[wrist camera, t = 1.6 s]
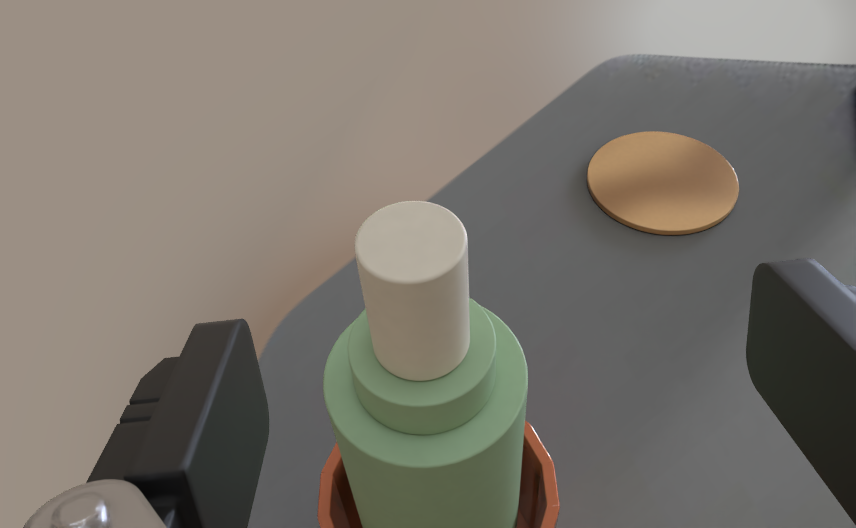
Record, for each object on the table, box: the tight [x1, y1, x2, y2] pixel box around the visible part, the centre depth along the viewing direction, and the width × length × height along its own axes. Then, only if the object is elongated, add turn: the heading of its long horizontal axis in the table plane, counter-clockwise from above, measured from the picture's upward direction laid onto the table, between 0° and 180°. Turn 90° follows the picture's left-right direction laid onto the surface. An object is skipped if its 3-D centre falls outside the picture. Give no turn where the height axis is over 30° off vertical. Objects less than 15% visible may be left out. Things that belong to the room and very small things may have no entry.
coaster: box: [587, 132, 739, 235], centre depth 47 cm, size 9×9×1 cm
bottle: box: [323, 201, 528, 528], centre depth 25 cm, size 6×6×20 cm
